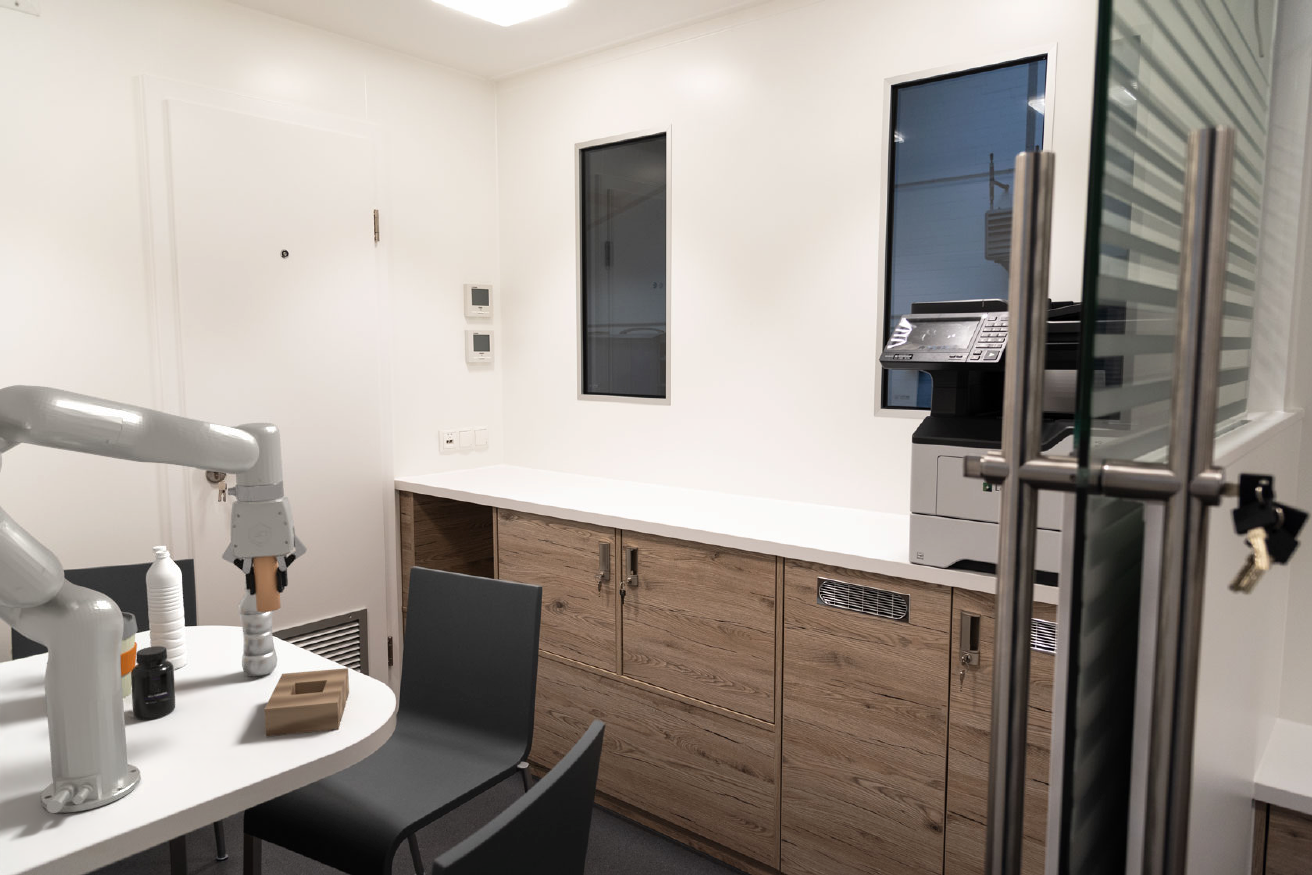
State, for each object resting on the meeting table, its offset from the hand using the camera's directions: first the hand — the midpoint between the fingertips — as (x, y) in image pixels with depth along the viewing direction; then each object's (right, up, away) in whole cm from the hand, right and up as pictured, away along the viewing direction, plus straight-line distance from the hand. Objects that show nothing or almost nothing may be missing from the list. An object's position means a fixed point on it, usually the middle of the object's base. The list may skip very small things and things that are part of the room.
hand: (267, 590), depth 151 cm
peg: (0, -3, 0) cm, 3 cm away
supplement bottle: (-23, -24, +4) cm, 33 cm away
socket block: (+6, -24, +4) cm, 25 cm away
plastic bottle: (-12, -22, +22) cm, 33 cm away
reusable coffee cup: (-37, -23, +11) cm, 45 cm away
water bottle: (-34, -21, +27) cm, 48 cm away
